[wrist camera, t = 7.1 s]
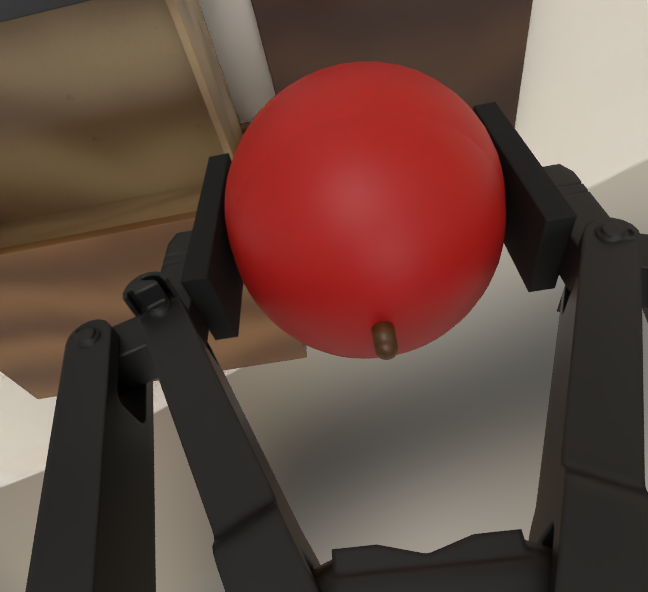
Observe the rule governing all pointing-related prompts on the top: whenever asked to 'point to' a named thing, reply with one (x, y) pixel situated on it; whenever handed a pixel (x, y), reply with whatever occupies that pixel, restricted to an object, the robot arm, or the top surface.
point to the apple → (366, 209)
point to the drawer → (106, 114)
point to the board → (403, 41)
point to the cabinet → (103, 299)
